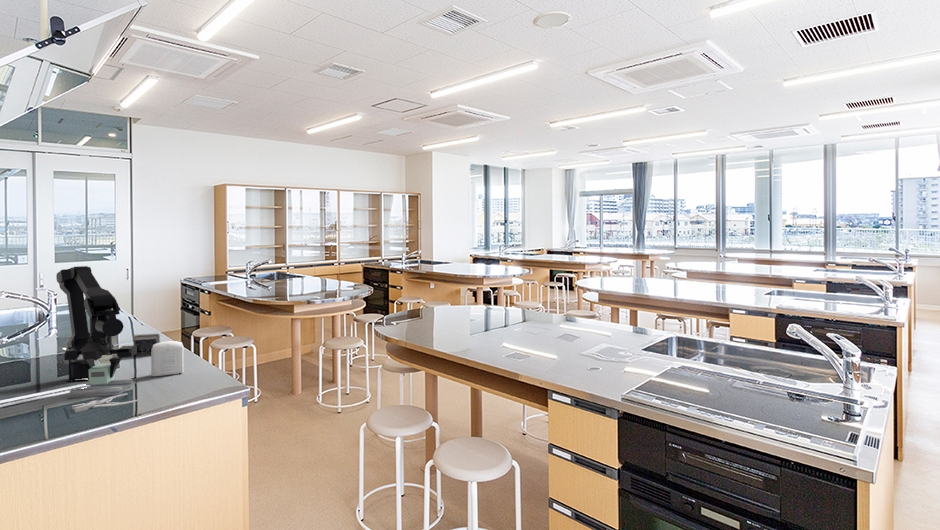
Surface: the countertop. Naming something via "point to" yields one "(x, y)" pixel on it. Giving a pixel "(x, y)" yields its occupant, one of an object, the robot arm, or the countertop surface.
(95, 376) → the green module
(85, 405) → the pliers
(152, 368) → the photo printer
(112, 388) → the mounting board
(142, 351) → the electrical switch
